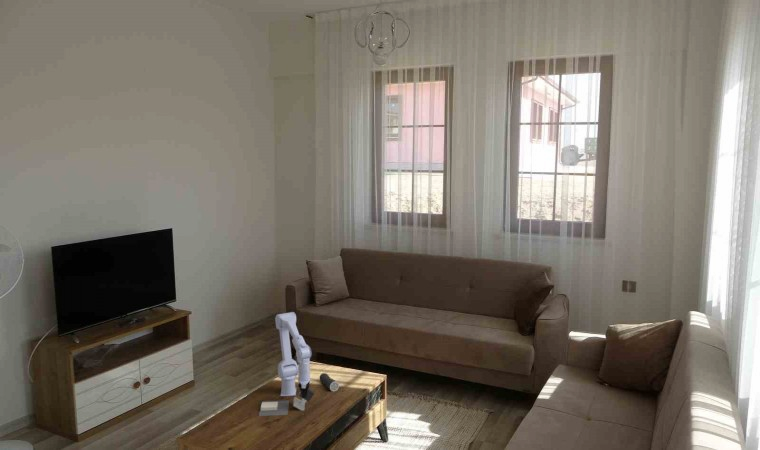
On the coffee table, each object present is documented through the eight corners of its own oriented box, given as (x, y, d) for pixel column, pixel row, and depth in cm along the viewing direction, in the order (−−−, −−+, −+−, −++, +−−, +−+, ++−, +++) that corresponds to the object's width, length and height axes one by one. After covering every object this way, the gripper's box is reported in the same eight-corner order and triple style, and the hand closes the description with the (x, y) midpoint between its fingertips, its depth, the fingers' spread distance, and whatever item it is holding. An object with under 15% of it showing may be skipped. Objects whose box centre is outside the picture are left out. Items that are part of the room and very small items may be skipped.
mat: (262, 402, 293) (262, 401, 293) (289, 401, 295) (289, 400, 294) (258, 416, 277) (258, 415, 277) (287, 415, 279) (287, 414, 279)
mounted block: (303, 404, 291) (293, 398, 290) (314, 389, 291) (304, 383, 290) (303, 411, 283) (293, 405, 283) (314, 396, 283) (304, 390, 282)
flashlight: (318, 382, 320) (318, 373, 319) (327, 380, 322) (327, 371, 322) (330, 392, 307) (330, 382, 306) (339, 390, 309) (339, 380, 309)
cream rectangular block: (278, 405, 289) (262, 405, 288) (277, 401, 289) (262, 402, 288) (277, 410, 283) (260, 411, 282) (277, 407, 283) (260, 407, 282)
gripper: (311, 375, 278) (312, 402, 280) (312, 364, 292) (312, 389, 294) (297, 376, 277) (297, 402, 279) (298, 365, 292) (298, 390, 293)
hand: (304, 396), depth 287 cm, fingers closed on mounted block, 2 cm apart
